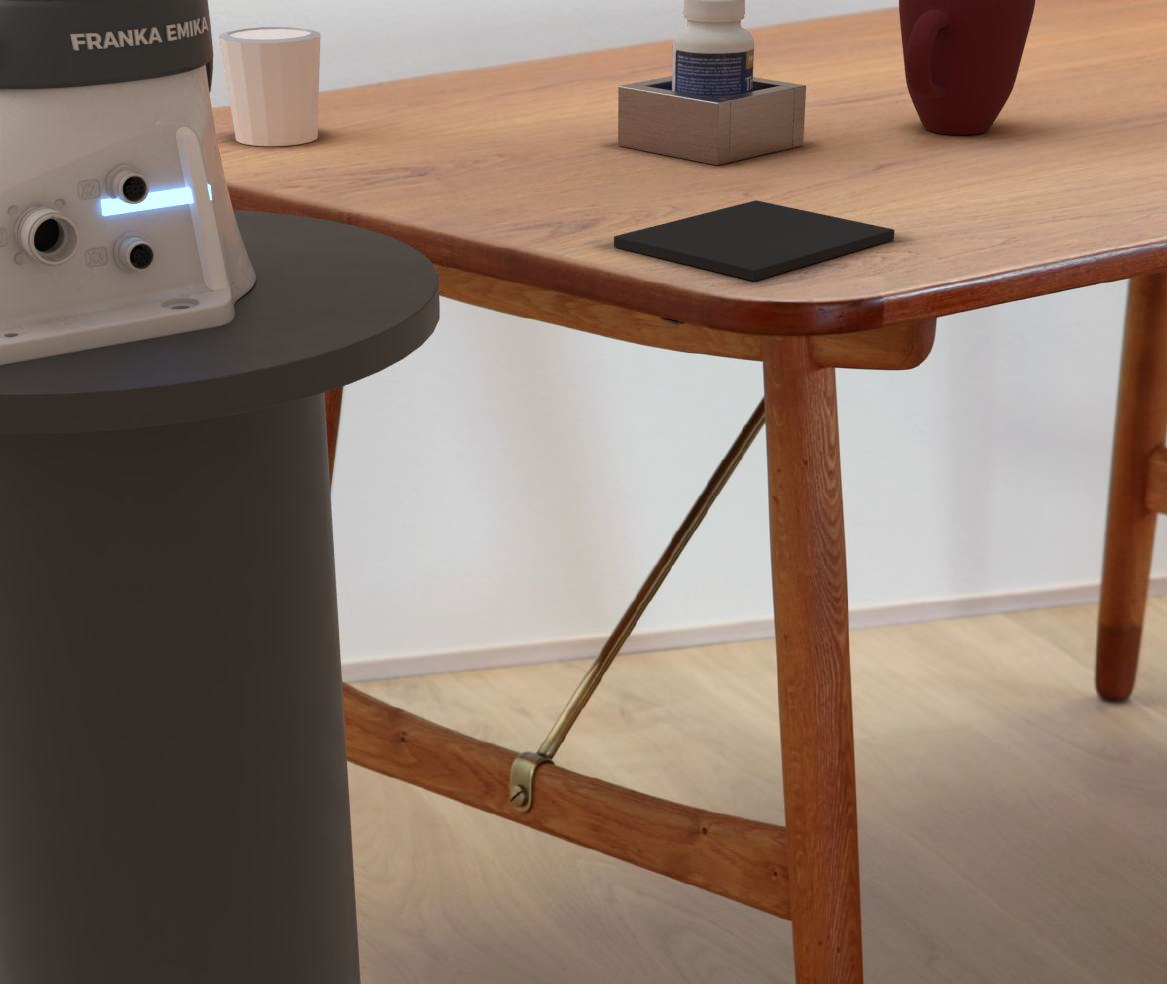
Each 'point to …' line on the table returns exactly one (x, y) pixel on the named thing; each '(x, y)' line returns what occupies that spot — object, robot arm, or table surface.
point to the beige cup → (272, 84)
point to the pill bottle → (713, 50)
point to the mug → (962, 59)
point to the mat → (754, 239)
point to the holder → (711, 121)
